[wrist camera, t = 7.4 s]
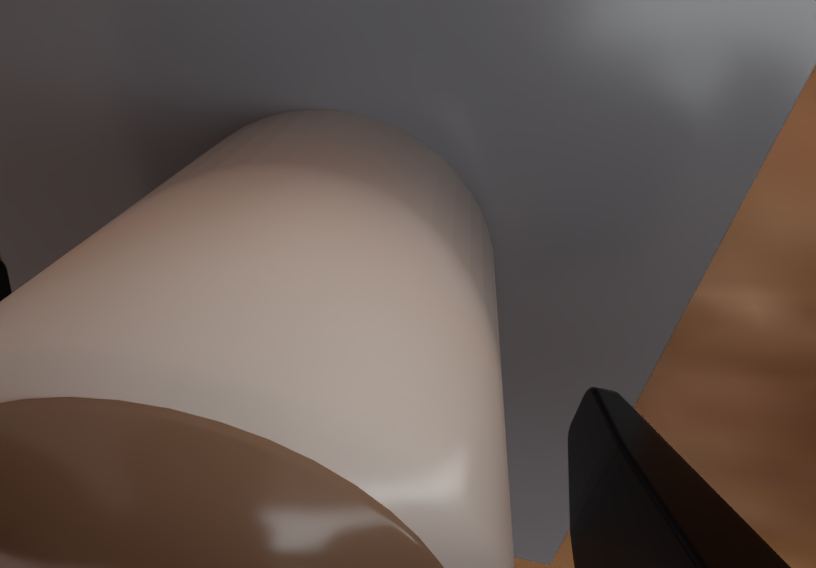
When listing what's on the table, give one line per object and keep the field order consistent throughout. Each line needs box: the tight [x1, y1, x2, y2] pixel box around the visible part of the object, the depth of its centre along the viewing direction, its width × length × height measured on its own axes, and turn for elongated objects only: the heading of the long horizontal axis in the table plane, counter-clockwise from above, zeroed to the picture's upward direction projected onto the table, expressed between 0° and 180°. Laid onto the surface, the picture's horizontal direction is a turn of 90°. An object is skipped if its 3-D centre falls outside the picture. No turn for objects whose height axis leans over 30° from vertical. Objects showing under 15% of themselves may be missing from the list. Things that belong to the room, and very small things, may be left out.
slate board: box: [0, 0, 816, 565], centre depth 11 cm, size 13×14×1 cm
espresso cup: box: [0, 109, 515, 568], centre depth 8 cm, size 6×8×7 cm
